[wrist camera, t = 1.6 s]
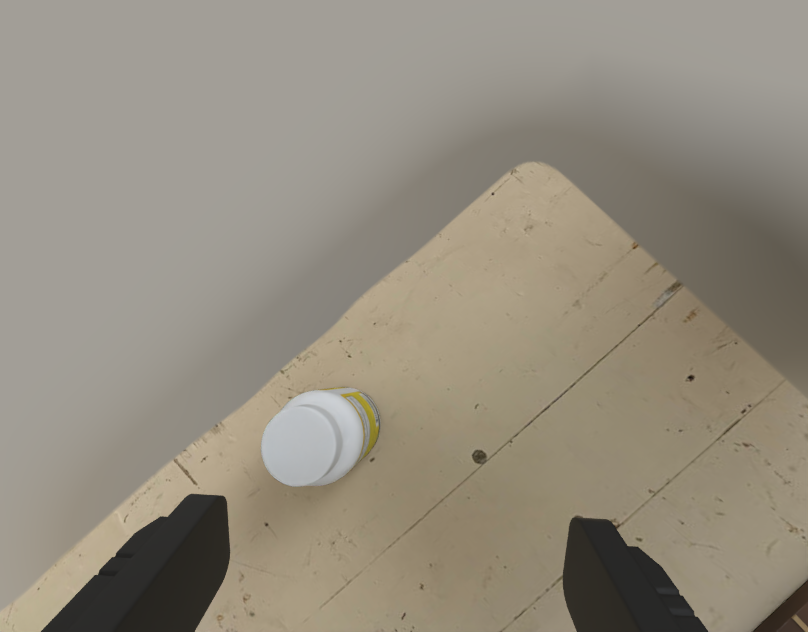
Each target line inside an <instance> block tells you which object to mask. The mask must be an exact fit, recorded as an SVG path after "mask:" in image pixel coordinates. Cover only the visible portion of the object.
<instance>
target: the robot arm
mask: <svg viewBox="0 0 808 632" xmlns="http://www.w3.org/2000/svg"><path fill="white" fill-rule="evenodd" d="M229 559H230V543H229V527H228V512H227V501H226V499H225V497H224V496H218V495H201V494H190V495H188V496H187V497H185V498H184V500H183V501H182V502H181V503H180V504H179V505H178V506H177V507H176V508H175V510H174V511H173V512H172V513H171V514H170V515H169V516H168V517H159V518H158V519H156V520H155V521H153V522H151V523H150V524H148V525H147V526H145V527H144V528H142V529H141V530H139V531H138V532H136V533H135V534H134V535H133V536H132V537H131V538H130V539H129V540H128V541H127V542H126V543H125V544H124V545H123V546H122V547H121V549H120V550H119V551H118V552H117V553H116V556H115V557H112V558H111V559H110V560H109V561H108V562H107V563H106V564H105V565H104V566H103V567H102V568H101V569H100V570H99V574H98V575H95V576H94V577H93V578H92V579H91V580H90V581H89V582H88V583H87V584H86V585H85V586H84V587H83V588H82V589H81V590H80V591H79V592H78V593H77V594H76V595H75V597H74V598H73V599H72V600H71V601H70V602H69V603H68V604H67V605H66V606H65V607H64V608H63V609H62V610H61V611H60V612H59V613H58V614H57V615H56V616H55V617H54V618H53V619H52V620H51V622H50V623H49V624H48V625H47V626H46V627H45V628H44V629H43V630H42V631H41V632H195V630H196V628H197V626H198V625H199V623H200V621H201V619H202V618H203V616H204V614H205V612H206V611H207V609H208V607H209V605H210V604H211V602H212V600H213V598H214V597H215V595H216V593H217V591H218V590H219V588H220V586H221V584H222V582H223V580H224V578H225V575H226V572H227V569H228V564H229ZM563 589H564V596H565V600H566V604H567V607H568V610H569V613H570V615H571V618H572V620H573V623H574V625H575V628H576V631H577V632H708V630H707V629H706V628H705V626H704V625H703V624H702V622H701V621H700V619H699V618H698V617H695V615H694V611H693V610H692V608H691V607H690V606H689V604H688V603H687V601H686V600H685V599H684V597H683V596H680V594H679V590H678V589H677V588H676V586H675V585H674V583H673V582H672V581H671V579H670V578H669V576H668V575H667V574H666V572H665V571H664V570H663V568H662V567H661V566H660V565H659V564H657V563H656V562H655V561H654V560H653V559H652V558H650V557H649V556H648V555H647V554H646V553H644V552H643V551H642V550H641V549H640V548H638V547H633V546H627V544H626V543H625V541H624V540H623V538H622V537H621V535H620V534H619V532H618V531H617V529H616V528H615V526H614V525H613V524H612V522H611V521H609V520H607V519H592V518H575V517H574V518H572V520H571V522H570V526H569V533H568V540H567V548H566V555H565V562H564V570H563Z"/></svg>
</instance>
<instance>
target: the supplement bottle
mask: <svg viewBox="0 0 808 632" xmlns="http://www.w3.org/2000/svg"><path fill="white" fill-rule="evenodd" d="M379 432H380V416H379V412H378V409H377V407H376V405H375V404H374V402H373V401H372V400H371V398H370V397H369V396H367V395H366V394H365V393H363V392H362V391H360V390H357V389H354V388H348V387H339V388H330V389H321V390H313V391H308V392H305V393H302V394H300V395H298V396H296V397H294V398H293V399H291V400H290V401H289V402H288V403H287V404H286V405H285V406H284V407H283V408H282V409H281V411H280V412H279V413H278V414H277V415H275V416H274V417H273V418H272V419H271V421H270V422H269V423H268V425H267V427H266V428H265V430H264V433H263V436H262V441H261V454H262V459H263V462H264V464H265V466H266V468H267V470H268V471H269V473H270V474H271V475H272V476H273V477H274V478H275V479H276V480H278V481H279V482H281V483H283V484H286V485H289V486H294V487H302V486H307V485H309V486H322V485H327V484H330V483H333V482H335V481H337V480H339V479H340V478H342V477H343V476H344V475H346V474H347V473H348V472H349V471H350V470H351V469H352V468H353V467H354V466H355V465H356V464H357V463H358V462H359V461H360V460H361V459H363V458H364V457H365V456H366V455H367V454H368V453H369V451H370V450H371V449H372V448H373V446H374V445H375V443H376V441H377V439H378V436H379Z"/></svg>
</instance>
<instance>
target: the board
mask: <svg viewBox="0 0 808 632" xmlns="http://www.w3.org/2000/svg"><path fill="white" fill-rule="evenodd" d="M754 632H808V581H807V582H806V583H805V584H804V585H803V586H802V587H801V588H800V589H799V590H798V591H796V592H795V593H794V594H793V595H792V596H791V597H790V598H789V599H788V600H787V601H786V602H785V603H784V604H783V605H781V606H780V607H779V608H778V609H777V610H776V611H775V612H774V613H773V614H772V615H771V616H770V617H769V618H768V619H766V620H765V621H764V622H763V623H762V624H761V625H760V626H759V627H758V628H757V629H756V630H755V631H754Z"/></svg>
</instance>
